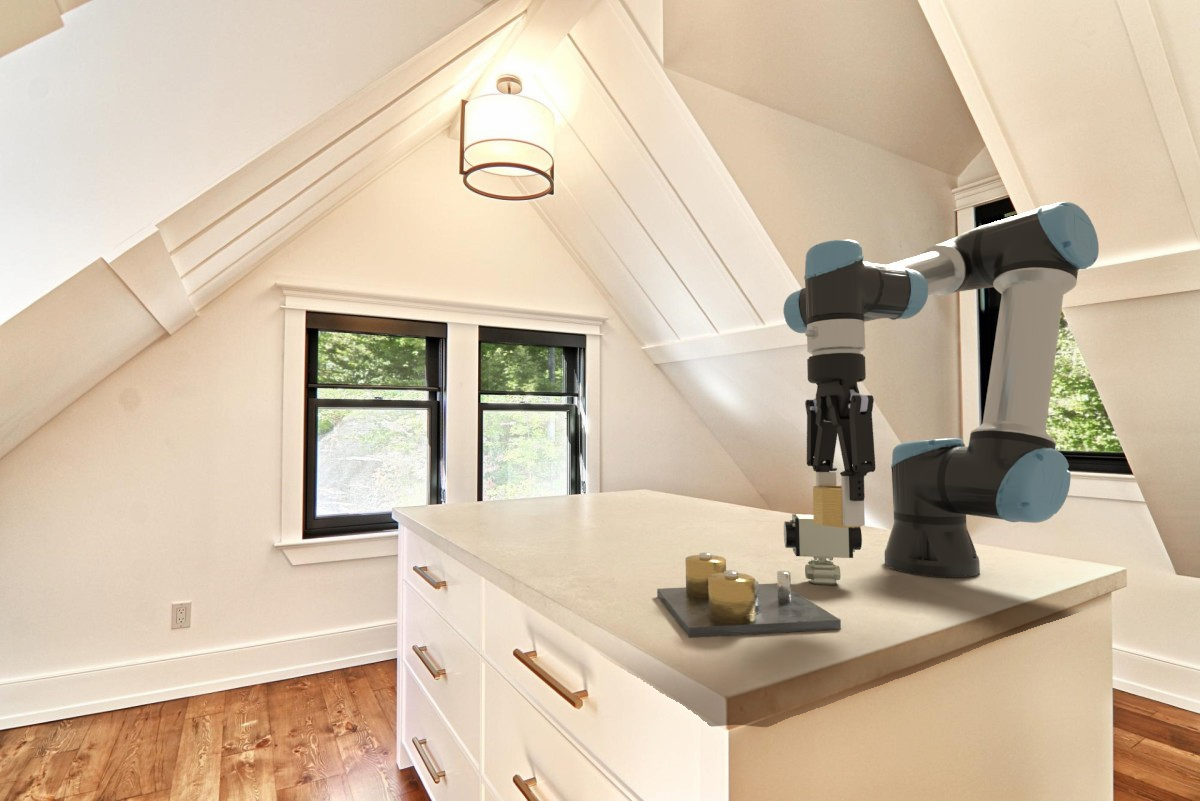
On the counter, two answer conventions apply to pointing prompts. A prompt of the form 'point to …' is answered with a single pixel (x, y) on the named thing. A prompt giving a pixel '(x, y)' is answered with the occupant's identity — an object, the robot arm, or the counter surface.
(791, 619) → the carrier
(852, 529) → the pneumatic valve
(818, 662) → the counter surface
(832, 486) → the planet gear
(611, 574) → the counter surface
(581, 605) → the counter surface
